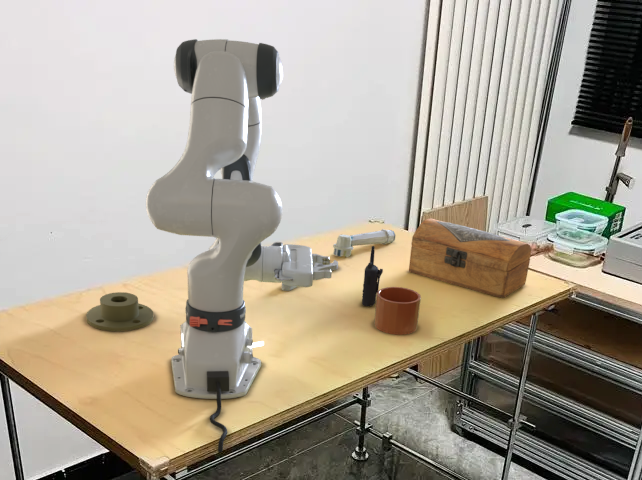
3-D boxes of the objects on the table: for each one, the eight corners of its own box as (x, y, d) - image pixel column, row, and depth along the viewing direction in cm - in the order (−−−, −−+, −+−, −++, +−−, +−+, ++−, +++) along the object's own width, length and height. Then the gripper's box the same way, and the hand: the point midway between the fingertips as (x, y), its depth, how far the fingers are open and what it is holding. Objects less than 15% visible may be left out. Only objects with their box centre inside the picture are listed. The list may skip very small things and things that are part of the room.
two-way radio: (364, 299, 209) (368, 243, 201) (380, 301, 208) (386, 245, 201) (360, 307, 204) (365, 250, 197) (377, 309, 203) (383, 252, 196)
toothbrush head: (398, 231, 249) (345, 235, 231) (394, 252, 251) (341, 257, 233) (385, 227, 252) (331, 230, 233) (381, 248, 254) (328, 253, 236)
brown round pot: (419, 335, 191) (423, 304, 187) (376, 333, 190) (379, 302, 186) (414, 318, 200) (417, 287, 196) (372, 316, 199) (375, 285, 195)
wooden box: (405, 272, 229) (410, 224, 222) (434, 258, 241) (439, 213, 234) (500, 301, 214) (509, 251, 208) (526, 285, 227) (535, 237, 220)
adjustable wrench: (288, 292, 209) (288, 286, 208) (268, 286, 212) (268, 280, 211) (341, 267, 228) (341, 261, 227) (322, 262, 231) (323, 256, 230)
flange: (113, 317, 176) (166, 299, 187) (71, 298, 184) (124, 282, 194) (115, 337, 178) (166, 318, 189) (73, 317, 186) (125, 300, 197)
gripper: (274, 267, 189) (333, 270, 190) (275, 239, 207) (329, 242, 208) (273, 292, 192) (331, 294, 193) (275, 262, 210) (328, 265, 211)
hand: (330, 267), depth 201 cm, fingers open, 8 cm apart
